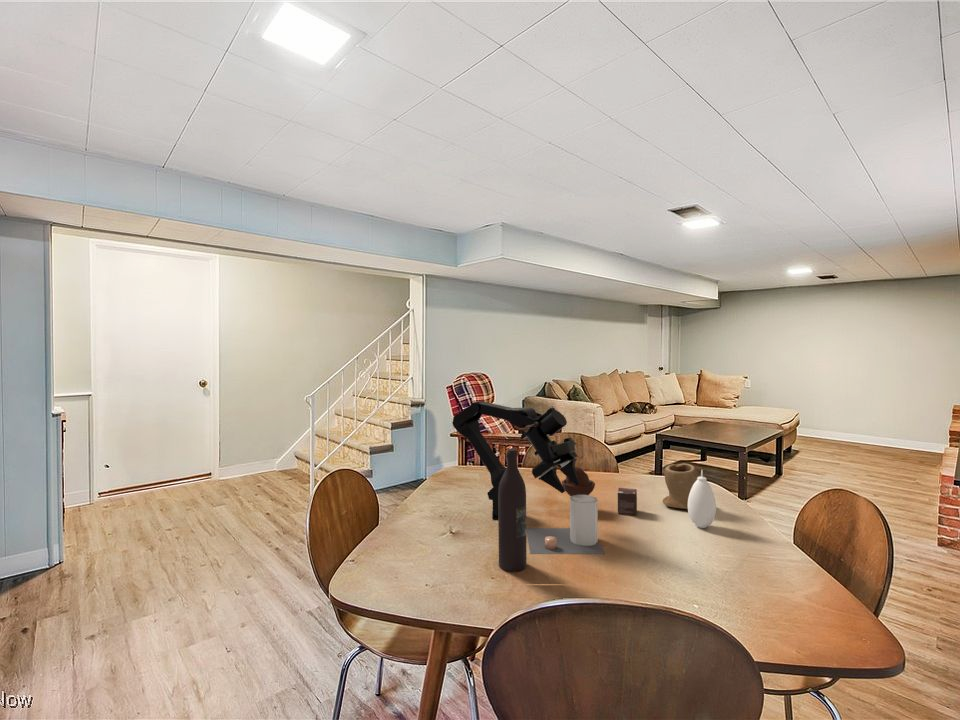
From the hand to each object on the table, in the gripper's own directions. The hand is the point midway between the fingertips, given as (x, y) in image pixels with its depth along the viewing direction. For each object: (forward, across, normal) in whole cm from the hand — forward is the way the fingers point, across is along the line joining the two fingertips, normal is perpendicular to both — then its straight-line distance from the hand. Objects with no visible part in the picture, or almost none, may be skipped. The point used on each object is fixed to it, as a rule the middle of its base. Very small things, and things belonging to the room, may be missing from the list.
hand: (571, 488), depth 142 cm
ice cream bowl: (+6, +20, +15) cm, 26 cm away
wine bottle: (+10, -28, +10) cm, 31 cm away
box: (+15, +28, +4) cm, 32 cm away
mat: (+11, -6, +8) cm, 15 cm away
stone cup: (+24, +44, -7) cm, 50 cm away
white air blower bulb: (+29, +29, -14) cm, 43 cm away
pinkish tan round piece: (+10, -12, +8) cm, 18 cm away
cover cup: (+14, -2, +4) cm, 15 cm away
